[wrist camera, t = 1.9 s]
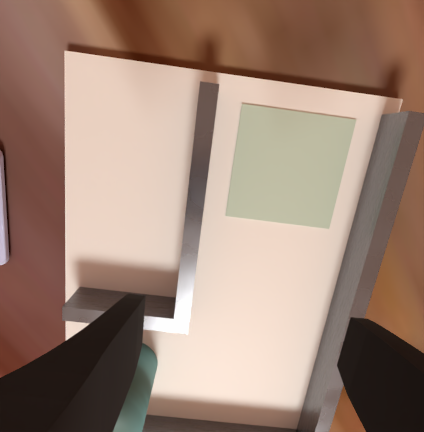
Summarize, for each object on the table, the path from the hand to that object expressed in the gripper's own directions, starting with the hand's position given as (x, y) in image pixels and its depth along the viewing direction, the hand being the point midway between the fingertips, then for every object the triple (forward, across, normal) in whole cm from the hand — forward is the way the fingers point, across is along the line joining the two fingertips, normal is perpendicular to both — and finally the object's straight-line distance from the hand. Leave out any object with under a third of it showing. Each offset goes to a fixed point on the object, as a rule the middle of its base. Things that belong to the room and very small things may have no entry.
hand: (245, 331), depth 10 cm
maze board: (+10, +1, +4) cm, 11 cm away
